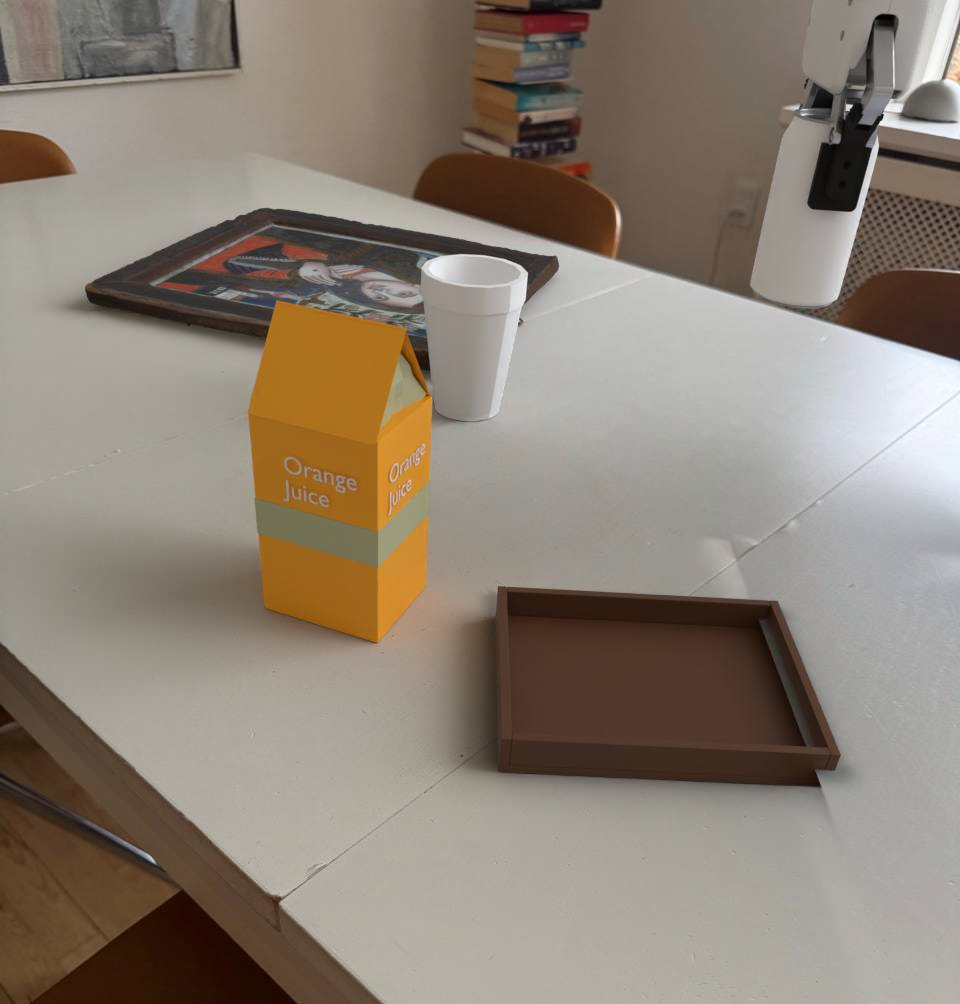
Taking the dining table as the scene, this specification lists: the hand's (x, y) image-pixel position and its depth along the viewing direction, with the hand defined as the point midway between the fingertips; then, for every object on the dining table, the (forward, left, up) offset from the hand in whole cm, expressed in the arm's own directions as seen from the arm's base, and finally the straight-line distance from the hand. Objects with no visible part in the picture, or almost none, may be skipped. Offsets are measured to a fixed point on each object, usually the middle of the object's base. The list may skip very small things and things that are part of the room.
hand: (817, 193), depth 70 cm
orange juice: (+32, +17, -25) cm, 44 cm away
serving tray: (+12, +26, -25) cm, 38 cm away
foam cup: (+24, -16, -25) cm, 38 cm away
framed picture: (+39, -47, -25) cm, 65 cm away
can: (0, 0, -7) cm, 7 cm away
